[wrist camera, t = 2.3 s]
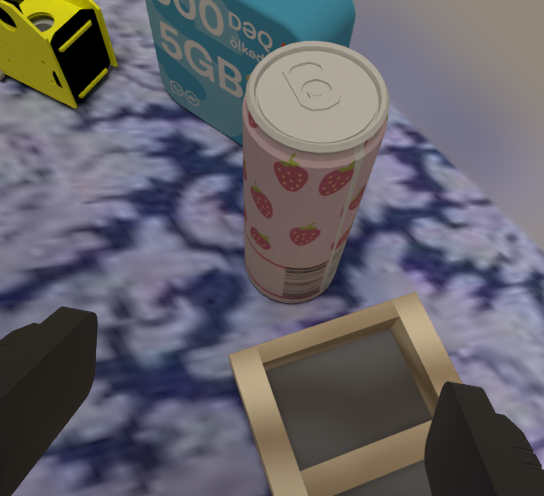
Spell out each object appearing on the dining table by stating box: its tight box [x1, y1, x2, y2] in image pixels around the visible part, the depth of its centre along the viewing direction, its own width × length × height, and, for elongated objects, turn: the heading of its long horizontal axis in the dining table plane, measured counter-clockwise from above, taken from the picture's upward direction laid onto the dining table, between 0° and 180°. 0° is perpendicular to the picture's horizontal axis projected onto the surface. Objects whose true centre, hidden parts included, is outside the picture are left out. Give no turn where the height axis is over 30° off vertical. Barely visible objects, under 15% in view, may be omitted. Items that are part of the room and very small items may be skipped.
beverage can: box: [242, 41, 389, 303], centre depth 26 cm, size 6×6×15 cm
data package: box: [145, 0, 356, 146], centre depth 32 cm, size 12×4×12 cm, turn 52°
